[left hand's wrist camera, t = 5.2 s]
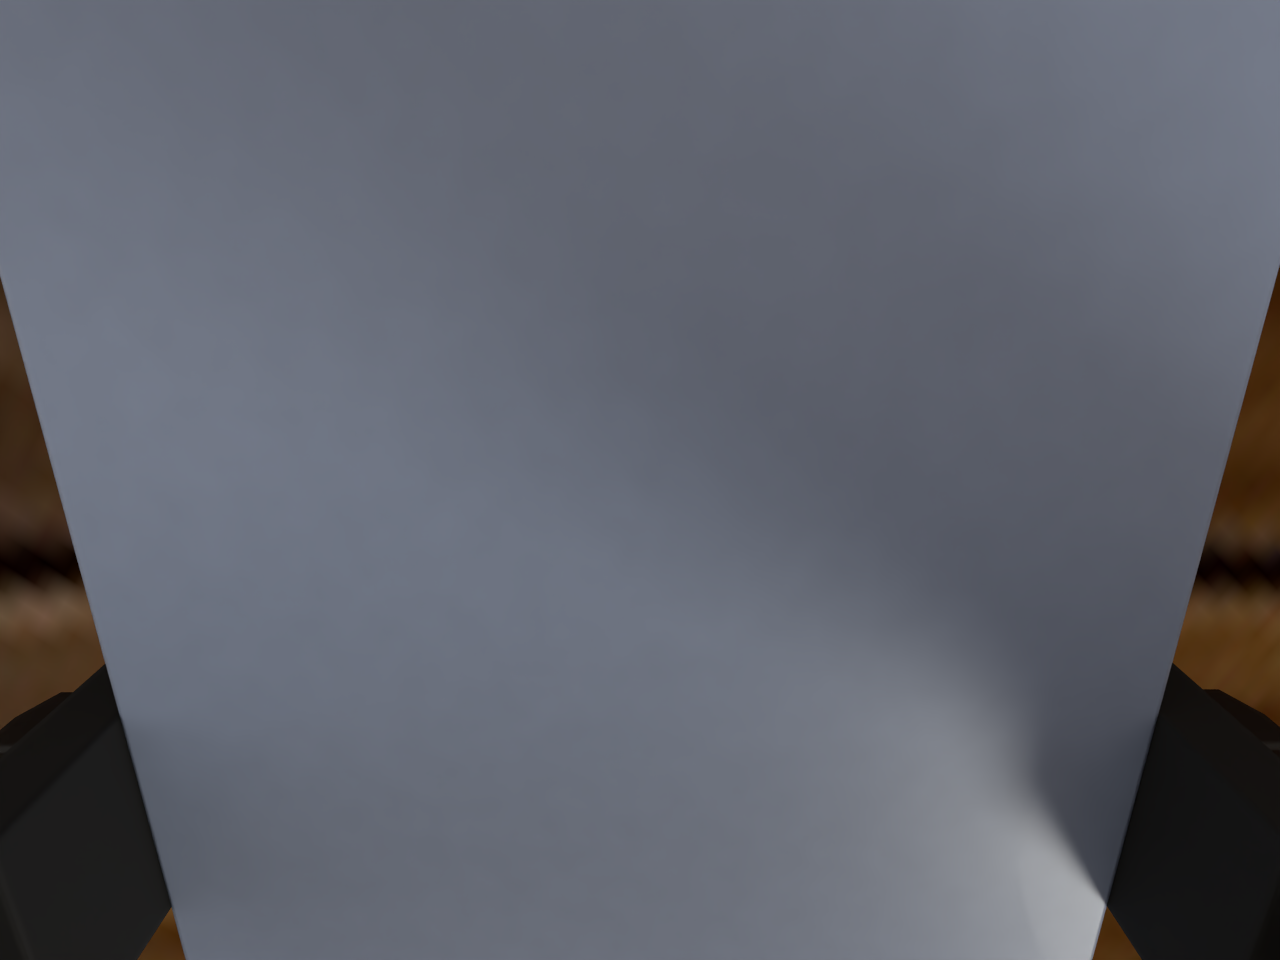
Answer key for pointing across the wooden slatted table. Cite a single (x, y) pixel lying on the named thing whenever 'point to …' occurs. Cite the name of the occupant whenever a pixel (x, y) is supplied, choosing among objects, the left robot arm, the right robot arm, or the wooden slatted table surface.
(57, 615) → the wooden slatted table surface
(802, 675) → the cabinet
